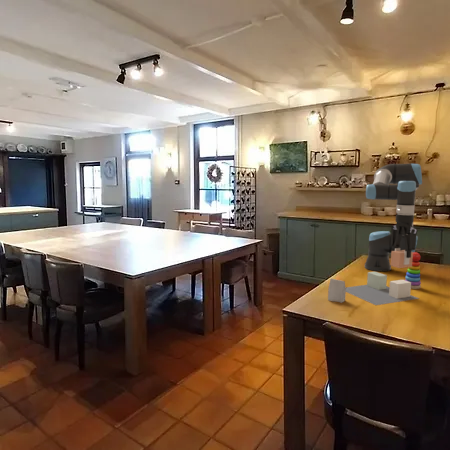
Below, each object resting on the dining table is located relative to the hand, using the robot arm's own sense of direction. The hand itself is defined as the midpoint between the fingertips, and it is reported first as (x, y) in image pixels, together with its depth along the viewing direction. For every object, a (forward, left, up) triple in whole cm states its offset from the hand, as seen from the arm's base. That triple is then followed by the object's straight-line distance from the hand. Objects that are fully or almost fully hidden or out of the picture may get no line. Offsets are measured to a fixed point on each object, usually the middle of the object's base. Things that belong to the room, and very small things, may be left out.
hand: (401, 262), depth 173 cm
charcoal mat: (-7, -7, -17) cm, 19 cm away
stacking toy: (-9, +18, -17) cm, 26 cm away
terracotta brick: (0, 0, -2) cm, 2 cm away
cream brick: (0, 0, -16) cm, 16 cm away
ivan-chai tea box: (-6, -32, -17) cm, 37 cm away
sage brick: (-15, 0, -16) cm, 22 cm away
